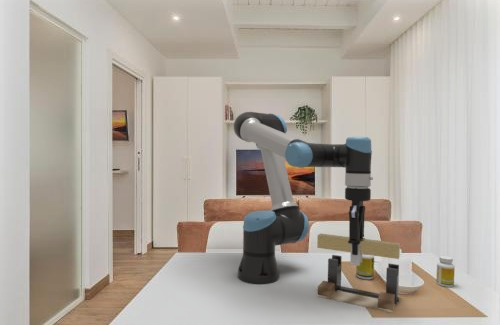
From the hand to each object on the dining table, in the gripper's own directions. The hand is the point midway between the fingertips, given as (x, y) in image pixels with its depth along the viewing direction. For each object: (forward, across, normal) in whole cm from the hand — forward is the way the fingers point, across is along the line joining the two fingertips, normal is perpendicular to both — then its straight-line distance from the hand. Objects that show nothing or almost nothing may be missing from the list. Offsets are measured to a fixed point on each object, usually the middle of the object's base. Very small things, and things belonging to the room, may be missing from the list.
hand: (356, 263), depth 105 cm
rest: (+11, 0, 0) cm, 11 cm away
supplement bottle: (+12, +30, -25) cm, 41 cm away
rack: (+11, +6, -1) cm, 13 cm away
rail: (-3, 0, 0) cm, 3 cm away
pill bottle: (+12, +23, +1) cm, 26 cm away
